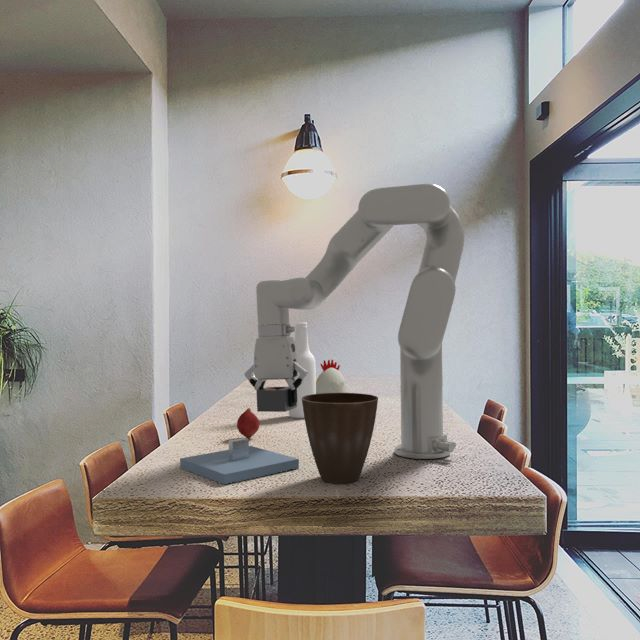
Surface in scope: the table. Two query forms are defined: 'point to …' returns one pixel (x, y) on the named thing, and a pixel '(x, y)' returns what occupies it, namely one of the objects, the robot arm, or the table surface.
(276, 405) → the hollow gray block
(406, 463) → the table surface
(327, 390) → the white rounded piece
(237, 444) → the block
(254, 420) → the onion
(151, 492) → the table surface
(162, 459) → the table surface
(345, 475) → the plant pot
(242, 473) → the base board
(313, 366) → the alcohol
